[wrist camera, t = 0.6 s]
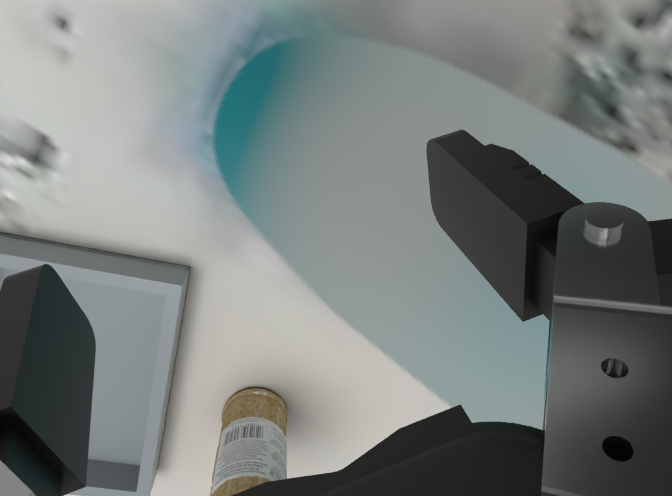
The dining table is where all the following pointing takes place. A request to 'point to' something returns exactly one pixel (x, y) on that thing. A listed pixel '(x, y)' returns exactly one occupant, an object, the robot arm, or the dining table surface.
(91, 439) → the box
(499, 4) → the dining table surface
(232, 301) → the dining table surface
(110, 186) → the dining table surface
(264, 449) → the sprinkles bottle
